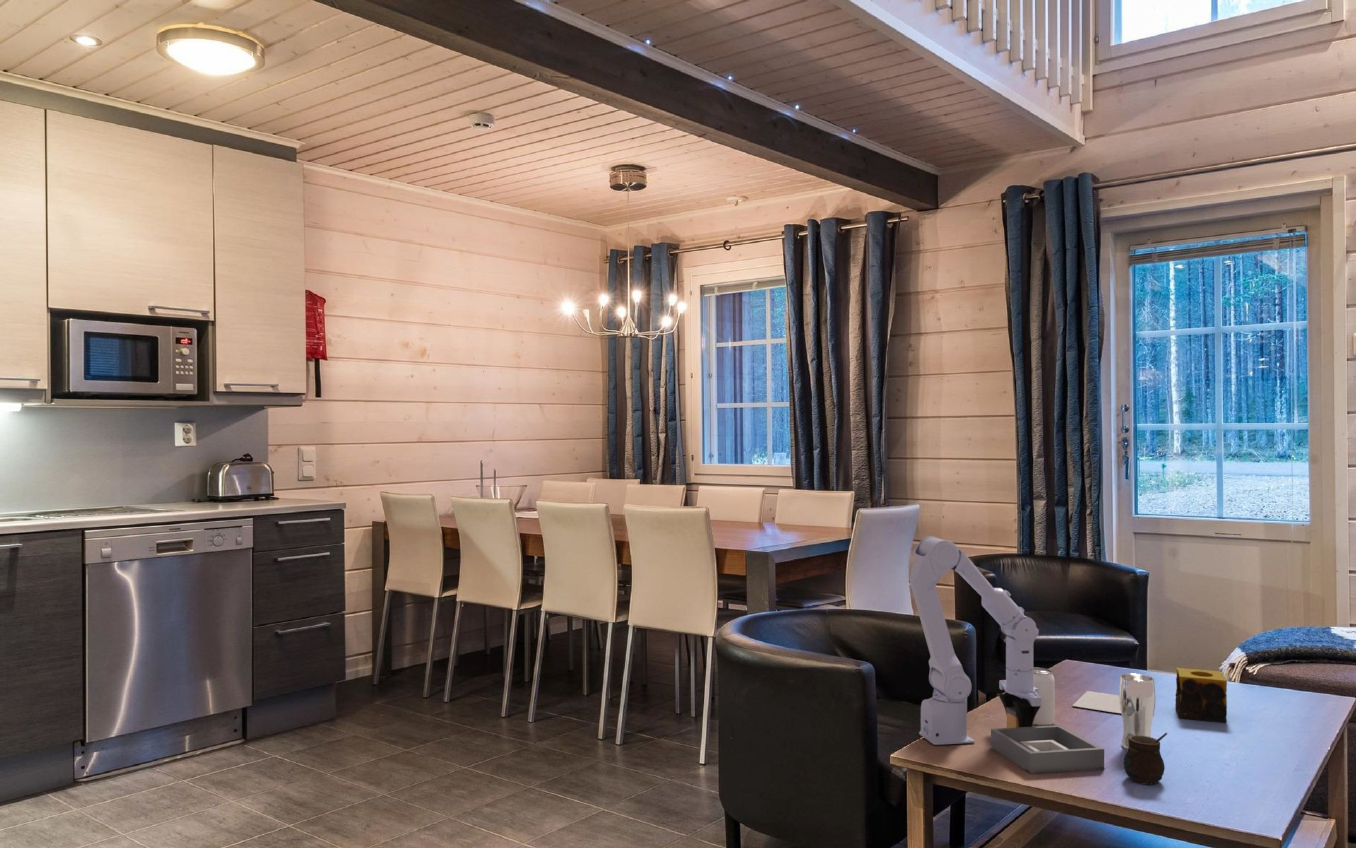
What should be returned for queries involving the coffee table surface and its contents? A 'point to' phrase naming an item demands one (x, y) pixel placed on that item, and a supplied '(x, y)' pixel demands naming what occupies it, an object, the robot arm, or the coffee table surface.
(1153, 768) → the mate gourd
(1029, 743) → the box
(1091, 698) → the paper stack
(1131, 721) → the beer glass
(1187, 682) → the candle
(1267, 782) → the coffee table surface
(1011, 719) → the plug
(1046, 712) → the can
